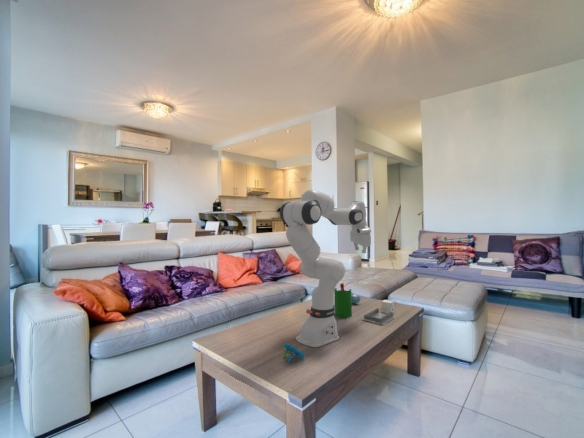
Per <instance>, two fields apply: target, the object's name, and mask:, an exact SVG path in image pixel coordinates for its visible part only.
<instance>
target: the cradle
mask: <svg viewBox="0 0 584 438" xmlns="http://www.w3.org/2000/svg"><path fill="white" fill-rule="evenodd" d="M395 319H396V316H395V315H394V313H393V312H390V313H389V314H386V313H382V312H379V309H378V308H375V309H374V310H372V311H370V312H368V313H365V314H364V315H363V317H362V318H361V320H362V321H364V322H368V323H372V324H376V325H380V326H385V325H387V324H388V323H390V322H392V321H393V320H395Z"/></svg>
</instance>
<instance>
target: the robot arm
mask: <svg viewBox="0 0 584 438" xmlns="http://www.w3.org/2000/svg"><path fill="white" fill-rule="evenodd" d="M335 205H336V204H335V200H334V199H333V197H331V196H330V195H328V194H326V193H324V192H321V191H319V190H315V189H308V190H305V191H304V192H303V194H302V195H301V199H300V200H296V201H287V202H285V203H283V204H282V205H281V206H280V208H279V217H280V220H281V221H282V224H283V225H284V226H285V227H286V228H287V229H286V231H285V237H286V240H287V242H288V243H289V245H290V246H291V248H292V249H293V251H294V252H295V253H296V255H297V256H298V257H299V259H300V260H301V262H300V266H299V267H300V268H299V269H300V273H301V274H302V275H303V276H304V277H307V278H309V279H315V280H319V282H318V286H317V287H315V288H313V290H311V307H310V309H309V308H308V309H306V310H305V311H306V314H309V315H308V317H307V318H306V319H305V320H304V323H303V324H302V325H301V328H300V333H299V334H298V335H297V336H296V337H295V340H296V341H297V342H298V343H300V344H301V345H304V346H307V347H312V348H319V347H323V346H325V345H328V344H330V343H333V342H335V341H338V340H340V336H339V334H338V326H337V320H336V318H335V317H336V316H335V307H334V305H335V296H334V289H335V288H336V286H337V284H338V283H339V282H341V281H342V280H343V279H344V277H345V275H346V267H345V264H344V263H343V262H342V261H340V260H336V259H333V258H325V257H321V256H320V254H321V247H320V245H319V243H318V242H317V241H316V240H315V238H314V236H313V235H312V233H311V232H310V231H309V229H308V226H309V225H310V226H311V225H315V224H317V223H319V221H320V219H321V217H323V218H326V219H327V220H328V221H329V222H330V223H331V225H334V226H351V230H350V233H349V236H350V237H349V238H350V242H352V243H353V245H354V250H355V251H359V249H360V248H359V246H362V247H361V248H362V250H361V253H362V254H366V253H367V248H369V247H371V244H372V239H371V233H372V230H371V228H370V227H369V226H368V225H367V208H366V205H365V202H364V201H352V202H351V203H350V205H349V207H345V208H342V207H341V208H339V207H336V208H335ZM307 225H308V226H307Z"/></svg>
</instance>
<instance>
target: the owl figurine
mask: <svg viewBox="0 0 584 438" xmlns="http://www.w3.org/2000/svg"><path fill="white" fill-rule="evenodd" d="M360 300H362V298H361V297H360V296H358V295H357V294H356V293H353V292H352V291H351V302H352V304H359V302H361V301H360ZM334 308H335V304H334Z"/></svg>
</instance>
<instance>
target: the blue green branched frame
mask: <svg viewBox="0 0 584 438" xmlns="http://www.w3.org/2000/svg"><path fill="white" fill-rule="evenodd" d="M283 350H284V354H283V356H282V358H283V359H285V357H286V356H287V354H288V355H290V356H289V358H288V360H287V362H288V363H289V364H290V363H291V361H292V359H293V357H294V356H297V357H299V358H303V359H305V357H306V354H304V353H303V352H302V351H299V349H298V348H296V347H294V346H293V345H290V344H289V343H284V345H283Z"/></svg>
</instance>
